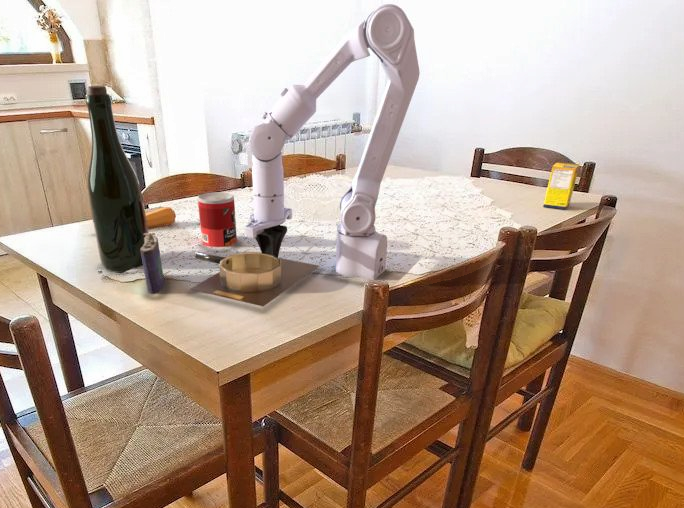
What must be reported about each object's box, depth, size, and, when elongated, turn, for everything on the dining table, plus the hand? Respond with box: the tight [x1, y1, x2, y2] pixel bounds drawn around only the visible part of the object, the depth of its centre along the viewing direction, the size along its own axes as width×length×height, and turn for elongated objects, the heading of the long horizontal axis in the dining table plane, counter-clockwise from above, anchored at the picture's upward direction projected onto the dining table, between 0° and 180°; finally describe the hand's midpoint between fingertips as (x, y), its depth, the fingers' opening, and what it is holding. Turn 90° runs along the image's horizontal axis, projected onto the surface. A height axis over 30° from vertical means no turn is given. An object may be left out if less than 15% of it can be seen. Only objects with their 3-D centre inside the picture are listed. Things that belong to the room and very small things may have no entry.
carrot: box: [145, 206, 177, 229], centre depth 131 cm, size 20×4×4 cm, turn 119°
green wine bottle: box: [85, 85, 150, 273], centre depth 102 cm, size 10×10×33 cm
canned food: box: [197, 191, 238, 248], centre depth 118 cm, size 8×8×11 cm
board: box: [189, 257, 320, 307], centre depth 102 cm, size 16×22×1 cm
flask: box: [140, 232, 165, 299], centre depth 97 cm, size 9×3×11 cm, turn 8°
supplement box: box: [543, 162, 580, 211], centre depth 144 cm, size 6×6×11 cm
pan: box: [194, 251, 281, 292], centre depth 101 cm, size 19×11×4 cm, turn 61°
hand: (270, 263), depth 105 cm, fingers closed
